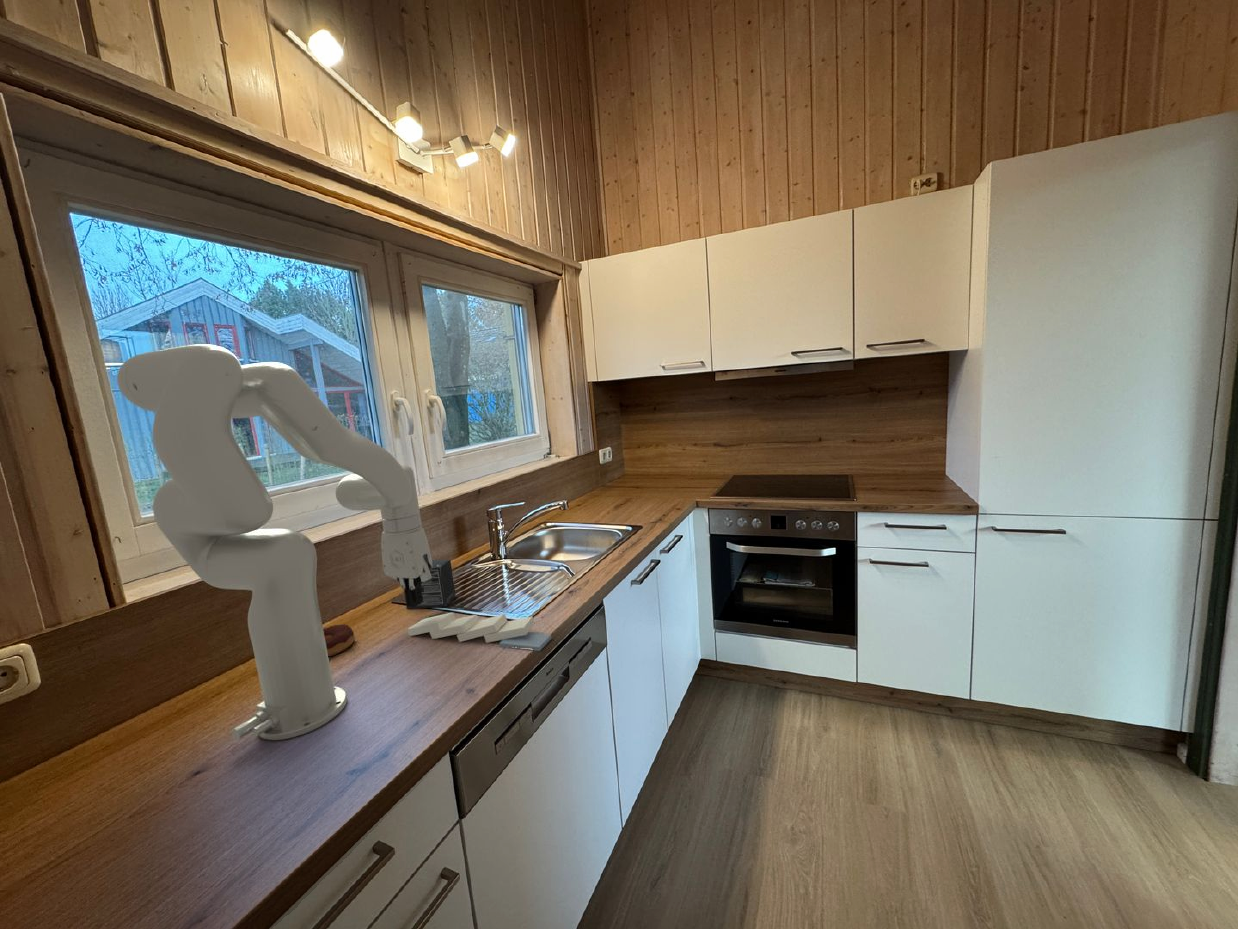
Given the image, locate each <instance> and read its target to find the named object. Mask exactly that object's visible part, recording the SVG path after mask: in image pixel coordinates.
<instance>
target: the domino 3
mask: <svg viewBox="0 0 1238 929" xmlns="http://www.w3.org/2000/svg"><path fill="white" fill-rule="evenodd" d="M505 622H508V619H507V617H506V614H505V613H503V614H500V615H496V616H491V617H488V618H485V619H481V620H479V622H478V623H476V624H475V625H474V626H472V627H471V628H470V629H468V630H467V631H466V632H464V633H460V634H456V637H457V639H458V642H459V643H462V642H465V641H469V640H472V639H475V638H479V637H484V635H487V634H491V633H494V632H497V631H498V630H499V629H500V628H501V627H502V626H503V625H504V624H505Z"/></svg>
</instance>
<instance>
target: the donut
mask: <svg viewBox="0 0 1238 929" xmlns="http://www.w3.org/2000/svg"><path fill="white" fill-rule="evenodd" d="M323 632H324V637H325V642H326V648H327V653H328V656H329V657H332V656H335V655H338V654H340V653H342V652H343V651H345V650H347V649H348V648H349V647H350V646H352V644H353V643H354V641H355V633H354V630H353V629H352V627H350V626H349V625H348V624H336V625H335V624H334V625H331V626H328V627H323Z"/></svg>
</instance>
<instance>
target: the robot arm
mask: <svg viewBox="0 0 1238 929" xmlns="http://www.w3.org/2000/svg"><path fill="white" fill-rule="evenodd" d="M116 381H117V382H116V383H117V385H118V389H119V391H120V392H121V394H122V395H123V396H124V398H125V399H126V400H127V401H129V402H130V403H131V404H133V405H134V406H136V407H138V408H141V409H142V410H146V411H148V412H153V413H155V415H154V419H153V425H152V443H153V446H154V449H155V450H154V451H155V453H156V455H157V457H158V458H159V460H160V462H161V463H162V465H163V467H164V468H165V470H166V471H167V473H168V475H169V476H170V478H171V479H169V480H167V481H166V482H164V483H163V484H162V485H161V486H160V488H158V490H157V492H156V493H155V495H154V499H153V504H152V512H153V516H154V517H153V518H154V519H155V523H156V525H157V526H158V529H159V530H160V531H161V532H162V534H163V535H164V536H165V538H166V539H167V540H168V541H169V542H170V544H171V545H172V546H173V548H174V549H175V550H176V551H177V552H178V554H179V555H180V557H182V558H183V560H184V561H185V563H187V565H188V566H189V567H190V569H191V570H192V571H193V572H194V573H195V575H197V576H198V577H199V579H201V580H202V581H203V582H204V583H206V584H208V585H209V586H212V587H215V588H218V589H223V590H239V591H241V590H242V591H243V590H244V591H245V590H246V591H251V592H252V594H251V595H252V596H251V600H250V605H249V607H248V608H249V609H248V612H247V627H248V632H249V638H250V641H251V645H252V650H253V655H254V659H255V660H254V661H255V665H256V669H257V674H258V675H257V676H258V679H259V684H260V689H261V693H262V697H263V698H262V699H263V701H262V702H260V703H258V704H257V705H256V707H257V712H255V713H254V714H253V716H252V717H251V718H250V719H247V720H246V721H244V722H242V723H241V724H239V725H237V726H235V727H234V728H232V729H231V735H232V738H233V739H234V740H235V741H238V742H239V741H240V740H242V739H243V738H245V737H247V736H248V735H250V734H251V733H252V735H253V736H254V737H260V738H262V739H265V740H269V741H280V740H287V739H292V738H296V737H299V736H301V735H305V734H307V733H311V732H312V731H314V730H316V729H318V728H320V727H322V726H324V725H326V724H327V723H329V722H330V721H331V720H332V719H334V718H336V717H337V716H338V715H339V714H340V713H341V712H342V711H343V710H344V708H345V706H346V705H347V702H348V697H347V693H346V690H345V689H343V688H341V687H338V686H334V685H335V684H334V681H333V674H332V669H331V665H330V659H329V657H328V653H327V648H326V642H325V637H324V632H323V629H324V626H323V623H322V617H321V611H320V606H319V599H318V592H317V568H318V566H317V564H318V563H317V562H318V557H317V550H316V547H315V545H314V543H313V541H312V540H311V539H310V538H309V537H308V536H307V535H305V534H303V533H301V532H299V531H297V530H294V529H293V530H292V529H288V528H263V527H264V526H266V524H267V523H268V522H270V520H271V519H272V517H273V511H274V503H273V500H272V499H273V498H272V497H271V495H270V494H269V492H268V491H269V490H268V489H267V487H266V486H265V485H264V483H263V482H262V480H261V479H260V477H259V476H258V474H257V472H256V471H255V469H254V468H253V465H251V463H250V461H249V460H248V459H247V457H246V455H245V454H244V453H243V451H242V449H241V446H240V445H239V443H238V442H237V440H236V438H235V435H234V432H233V428H232V419H246V418H256V417H260V418H262V419H264V420H265V422H266V423H267V424H268V425H270V426H271V427H272V429H273V430H274V431H275V432H276V433H277V434H279V436H280V437H281V438H282V439H283V440H284V441H286V443H287V444H289V446H290V447H291V448H292V449H293V450H294V451H295V452H297V453H298V455H299V456H301V457H303V458H305V459H307V460H311V461H312V462H315V463H318V464H322V465H327V466H329V467H334V468H338V469H341V470H344V471H347V472H350V473H351V474H349V475H346V476H345V477H343V478H342V479H341V480H340V481H339V482H338V484H337V486H336V488H335V498H336V500H337V502H338V504H340V505H341V506H342V507H343V508H346V509H347V510H349V511H356V512H357V511H360V512H361V511H378V510H380V515H381V524H382V527H383V528H382V529H383V531H382V532H381V538H380V539H381V540H380V542H381V543H380V545H381V546H380V547H381V559H382V562H381V563H382V568H383V573H384V574H385V575H386V576H387V577H390V578H391V579H393V580H396V581H397V582H398V583H399V584H400V588H401V589H402V590H403V592H405V593H404V599H406V600H405V605H407V607H415V606H417V605H419V604H421V603H422V602H423V597H422V590H421V585H423V582H424V581H427V580H429V579H431V578H432V576H431V573H430V571H431V570H432V560H433V558H432V554H431V548H430V544H429V541H428V538H427V535H426V532H425V529H424V527H423V524H422V518H421V513H420V512H421V511H420V504H419V500H418V493H417V492H418V490H417V486H416V485H417V484H416V479H415V474H414V469H412V466H411V467H410V466H409V465H401V464H400V463H399V461H398V460H397V459H396V458H395V457H394V455H392V454H391V453H390V452H389V451H387V449H386V448H384V447H383V446H381V445H379V443H378V444H377V443H376V442H374V441H372V440H370V439H368V438H367V437H365V436H363V435H362V434H360V433H358V432H356V431H354V430H352V429H350V428H348V427H346V425H343V423H341V421H340V420H339V419H338V418H337V417H336V415H335V414H333V412H332V411H331V410H330V409H329V408H328V406H326V404H325V403H324V402H323V400H321V398H320V397H319V396H318V394H316V393H315V391H314V390H313V389H312V388H311V386H309V384H308V383H307V382H306V380H304V379H303V377H301V375H300V374H299V373H298V372H297V371H296V370H295V369H294V368H292V367H291V366H289V365H287V364H285V363H282V362H278V361H276V362H275V361H274V362H273V361H268V362H257V363H256V362H255V363H250V364H249V363H248V364H243V365H242V364H241V362H240V360H239V359H238V358H237V356H236V355H235V354H234V353H233V352H231V351H230V350H228V349H226V348H225V347H222V346H218V345H215V344H206V343H205V344H203V343H201V344H200V343H199V344H189V345H183V346H176V347H171V348H166V349H161V350H154V351H153V350H152V351H148V352H143V353H139V354H136V355H133V356H132V357H129V358H128V359H127V360H125V361H124V362H123V363H122V364H121V366H120V368H118V372H117V376H116ZM415 578H416V579H415ZM404 589H405V590H404Z"/></svg>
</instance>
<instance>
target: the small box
mask: <svg viewBox="0 0 1238 929" xmlns="http://www.w3.org/2000/svg"><path fill="white" fill-rule="evenodd" d="M451 562H452V561H451V558H448V559H434V560H433V559H432V570H431V571H430V573H431V576H432V578H431V579H429V580H427V581H424V582H423V585H421V590H422V597H423V602H422V603H421V604H419V605H417V606H415V607H407V605H406V604H405V605H406V609H407V610H414V609H415V610H416V609H431V608H433V609H435V608H446V607H448V605H449V604H451V602H453V601H454V600H455V599H456V597H457V595H456V588H455V582H454V575H453V574H454V573H453V568H452V563H451ZM415 579H416V578H415ZM404 590H405V589H403V592H404ZM404 594H405V592H404ZM404 599H405V598H404ZM405 601H406V599H405Z"/></svg>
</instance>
